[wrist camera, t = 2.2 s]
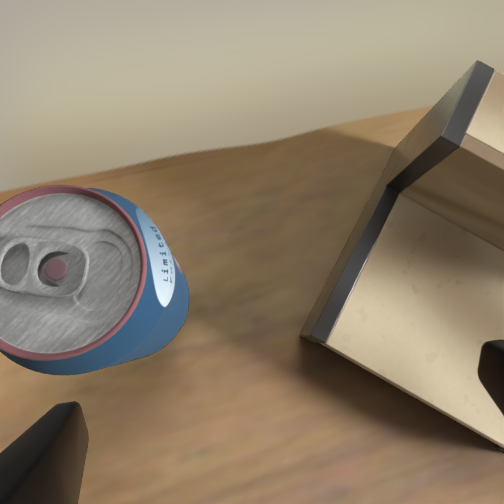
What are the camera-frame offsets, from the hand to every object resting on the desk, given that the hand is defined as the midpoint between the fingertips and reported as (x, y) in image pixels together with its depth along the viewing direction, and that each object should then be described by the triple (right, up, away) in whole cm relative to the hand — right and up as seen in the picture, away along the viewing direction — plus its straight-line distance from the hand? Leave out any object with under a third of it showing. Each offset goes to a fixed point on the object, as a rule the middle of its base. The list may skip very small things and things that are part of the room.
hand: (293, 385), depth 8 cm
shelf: (+12, 0, +17) cm, 21 cm away
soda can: (-8, 0, +16) cm, 18 cm away
